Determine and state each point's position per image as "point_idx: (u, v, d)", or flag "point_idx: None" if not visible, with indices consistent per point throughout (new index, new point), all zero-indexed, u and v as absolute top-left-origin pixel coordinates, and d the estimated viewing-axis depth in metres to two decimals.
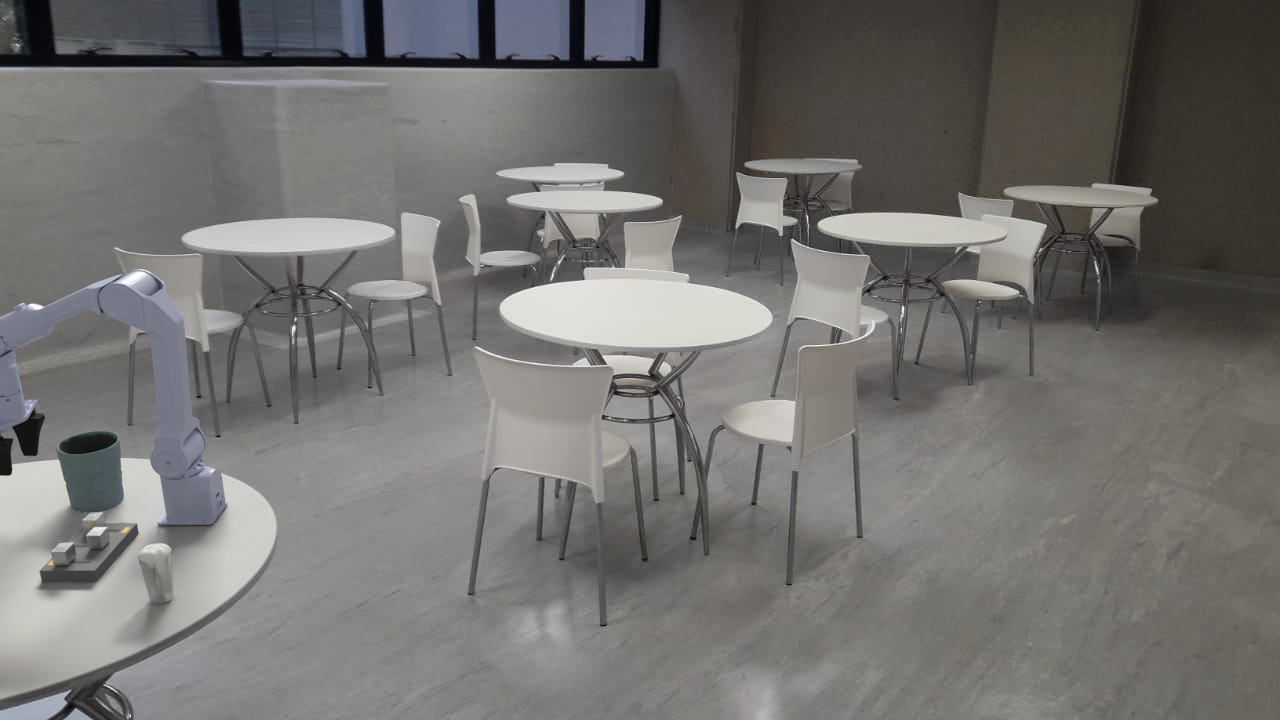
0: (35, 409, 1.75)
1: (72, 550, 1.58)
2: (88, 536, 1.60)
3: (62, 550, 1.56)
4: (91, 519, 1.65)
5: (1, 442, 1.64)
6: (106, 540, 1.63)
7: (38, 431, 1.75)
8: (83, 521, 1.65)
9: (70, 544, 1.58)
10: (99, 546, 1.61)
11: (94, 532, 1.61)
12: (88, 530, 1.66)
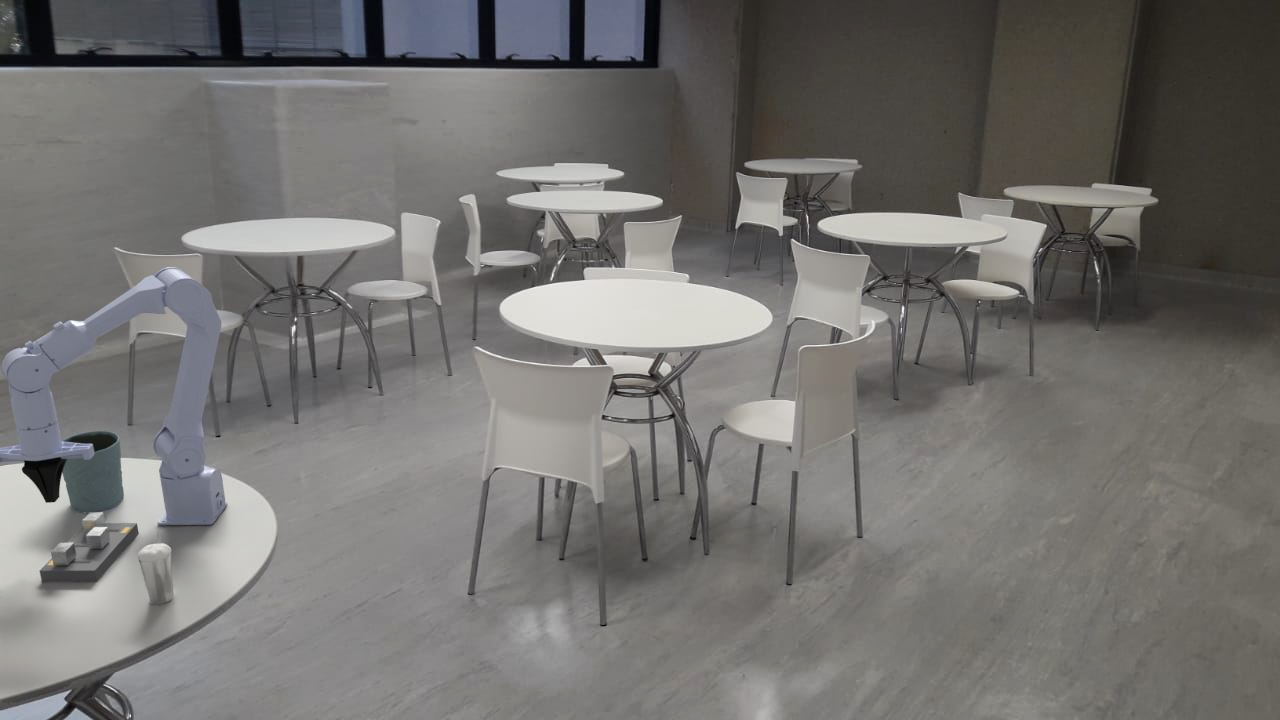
0: (83, 456, 1.59)
1: (72, 550, 1.58)
2: (88, 536, 1.60)
3: (62, 550, 1.56)
4: (91, 519, 1.65)
5: (25, 467, 1.57)
6: (106, 540, 1.63)
7: (48, 480, 1.59)
8: (83, 521, 1.65)
9: (70, 544, 1.58)
10: (99, 546, 1.61)
11: (94, 532, 1.61)
12: (88, 530, 1.66)
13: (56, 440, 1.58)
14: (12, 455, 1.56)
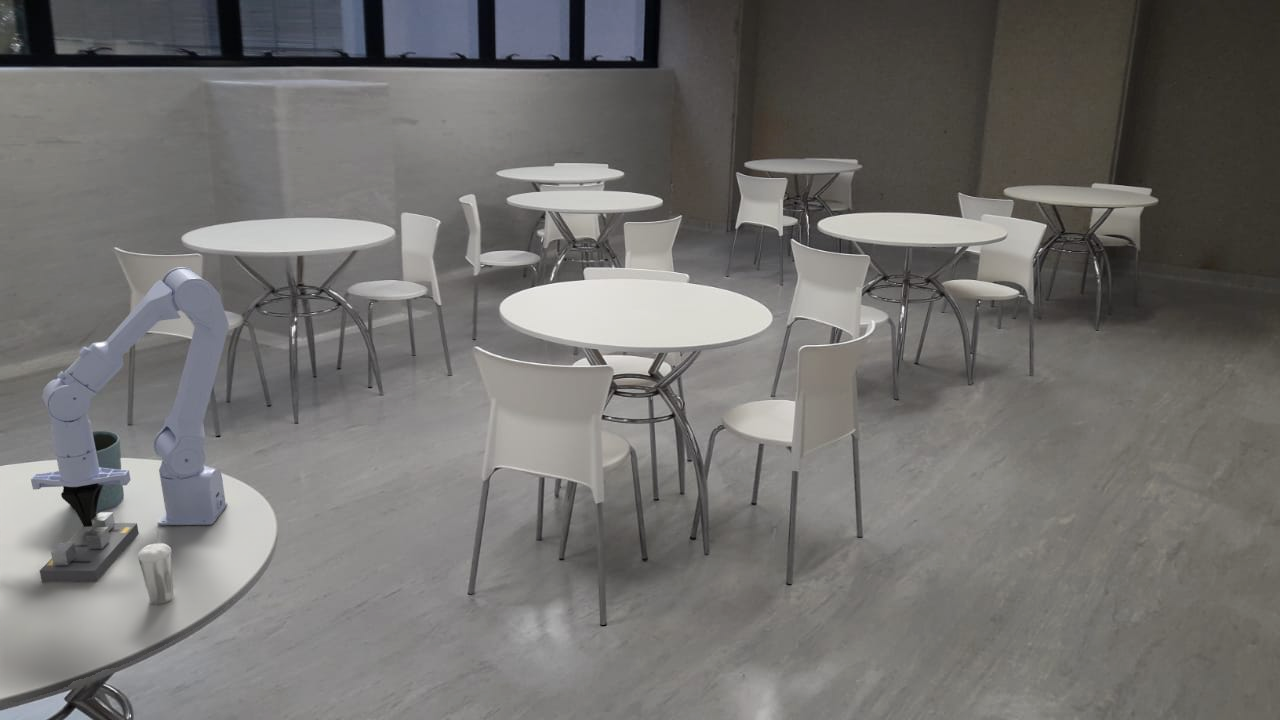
0: (120, 482, 1.64)
1: (72, 550, 1.58)
2: (88, 536, 1.60)
3: (62, 550, 1.56)
4: (100, 519, 1.65)
5: (64, 493, 1.62)
6: (106, 540, 1.63)
7: (86, 505, 1.64)
8: (92, 521, 1.65)
9: (70, 544, 1.58)
10: (99, 546, 1.61)
11: (94, 532, 1.61)
12: None
13: (94, 466, 1.63)
14: (52, 481, 1.61)
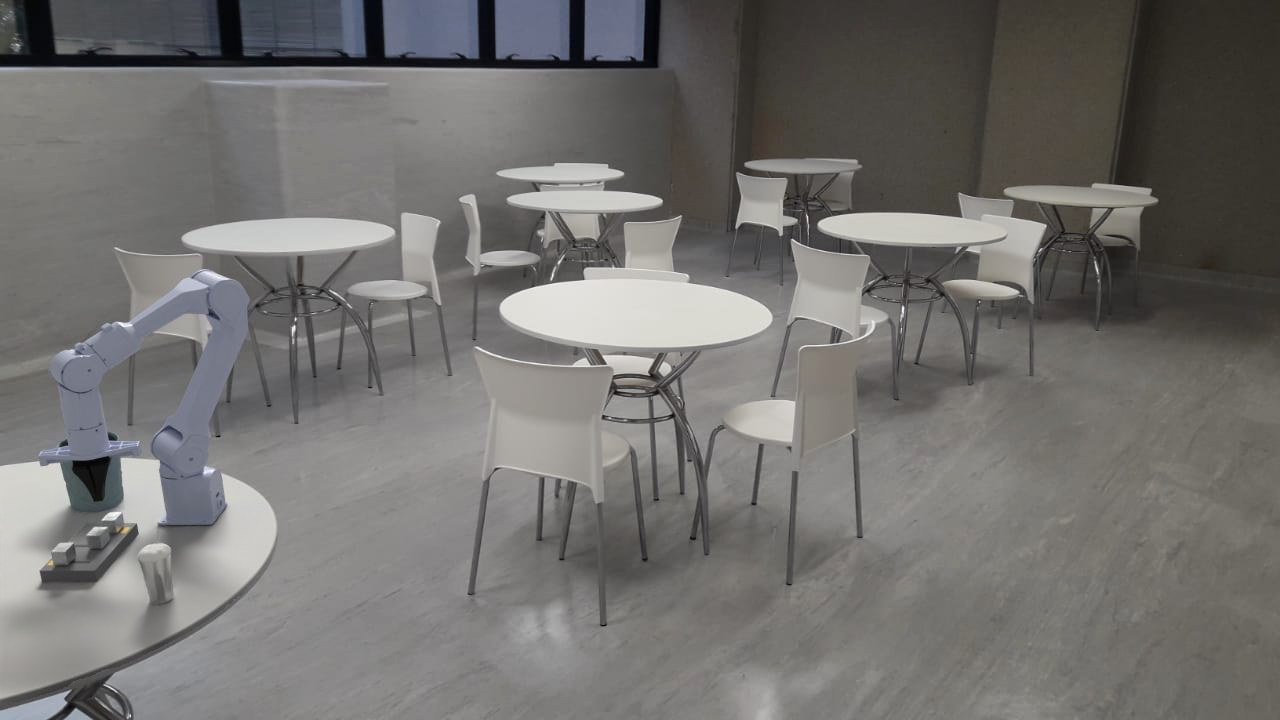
0: (132, 454, 1.63)
1: (72, 550, 1.58)
2: (88, 536, 1.60)
3: (62, 550, 1.56)
4: (110, 519, 1.65)
5: (75, 467, 1.60)
6: (106, 540, 1.63)
7: (98, 479, 1.61)
8: (102, 521, 1.65)
9: (70, 544, 1.58)
10: (99, 546, 1.61)
11: (94, 532, 1.61)
12: None
13: (105, 439, 1.61)
14: (62, 456, 1.59)
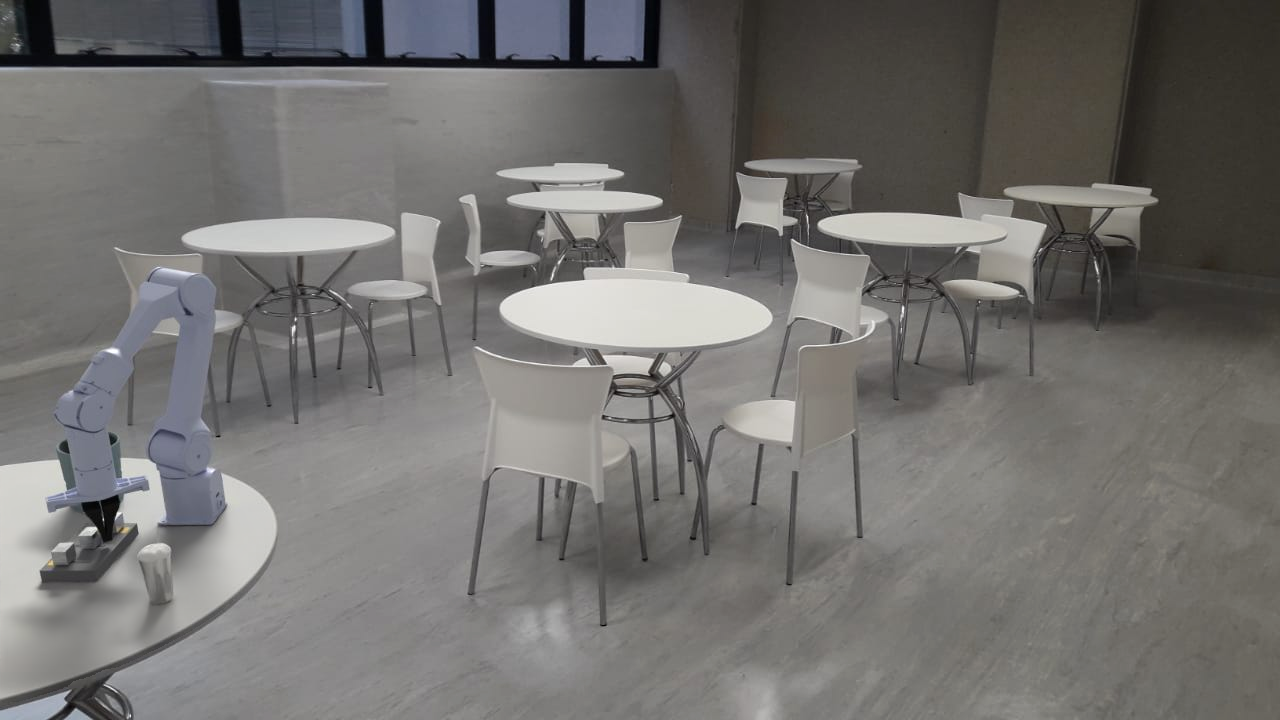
0: (142, 488, 1.62)
1: (72, 550, 1.58)
2: (81, 536, 1.60)
3: (62, 550, 1.56)
4: None
5: (86, 509, 1.57)
6: (98, 540, 1.63)
7: (110, 518, 1.60)
8: None
9: (70, 544, 1.58)
10: (91, 546, 1.61)
11: (86, 532, 1.61)
12: None
13: (115, 476, 1.59)
14: (73, 499, 1.56)
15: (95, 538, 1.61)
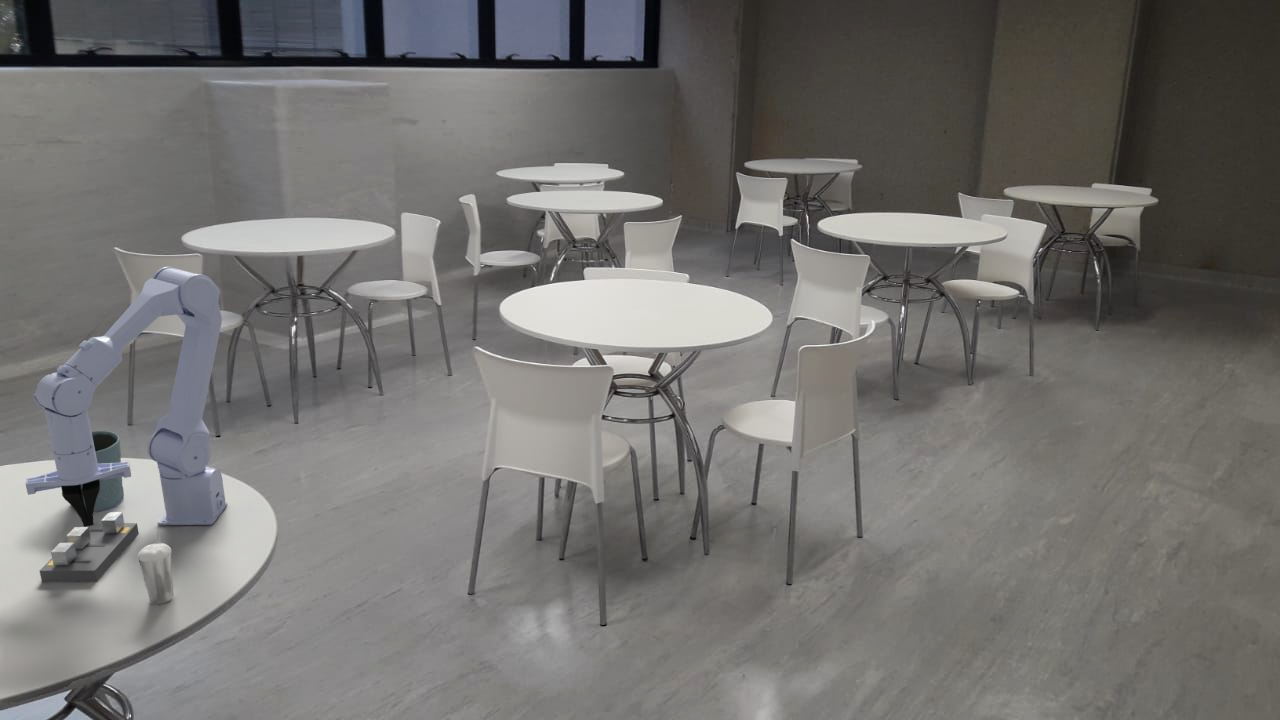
0: (123, 475, 1.60)
1: (72, 550, 1.58)
2: (69, 536, 1.60)
3: (62, 550, 1.56)
4: (110, 519, 1.65)
5: (65, 493, 1.56)
6: (87, 540, 1.62)
7: (89, 503, 1.58)
8: (102, 521, 1.65)
9: (70, 544, 1.58)
10: (79, 546, 1.61)
11: (75, 532, 1.61)
12: (107, 530, 1.66)
13: (95, 461, 1.58)
14: (51, 482, 1.55)
15: (83, 538, 1.61)
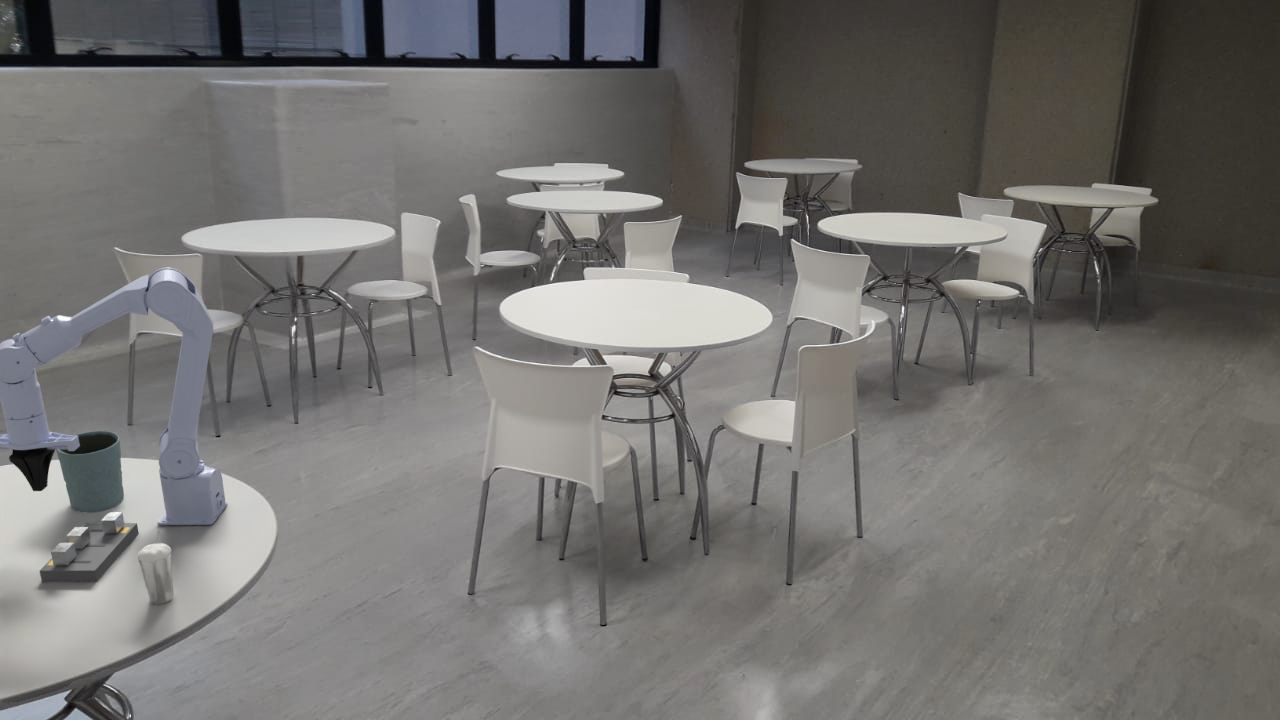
0: (67, 448, 1.62)
1: (72, 550, 1.58)
2: (69, 536, 1.60)
3: (62, 550, 1.56)
4: (110, 519, 1.65)
5: (12, 456, 1.61)
6: (87, 540, 1.62)
7: (34, 469, 1.62)
8: (102, 521, 1.65)
9: (70, 544, 1.58)
10: (79, 546, 1.61)
11: (75, 532, 1.61)
12: (107, 530, 1.66)
13: (42, 430, 1.61)
14: (0, 443, 1.60)
15: (83, 538, 1.61)
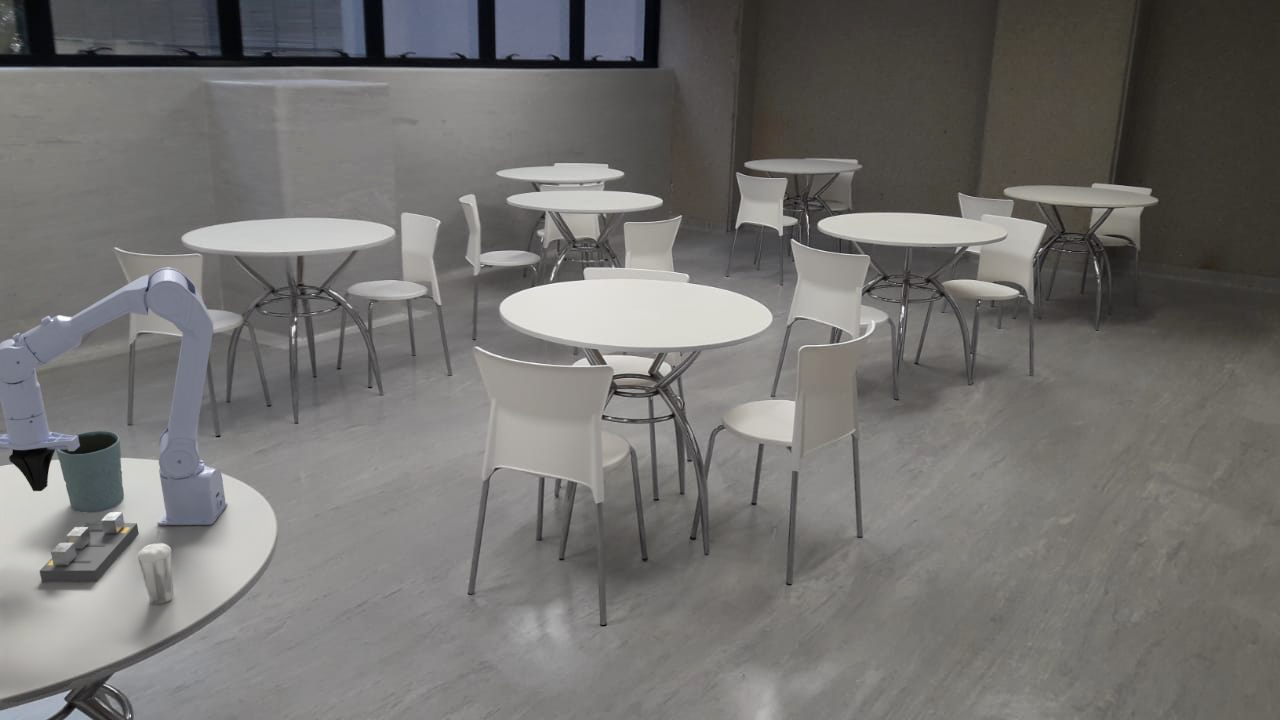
0: (67, 448, 1.62)
1: (72, 550, 1.58)
2: (69, 536, 1.60)
3: (62, 550, 1.56)
4: (110, 519, 1.65)
5: (12, 456, 1.61)
6: (87, 540, 1.62)
7: (34, 469, 1.62)
8: (102, 521, 1.65)
9: (70, 544, 1.58)
10: (79, 546, 1.61)
11: (75, 532, 1.61)
12: (107, 530, 1.66)
13: (42, 430, 1.61)
14: (0, 443, 1.60)
15: (83, 538, 1.61)
